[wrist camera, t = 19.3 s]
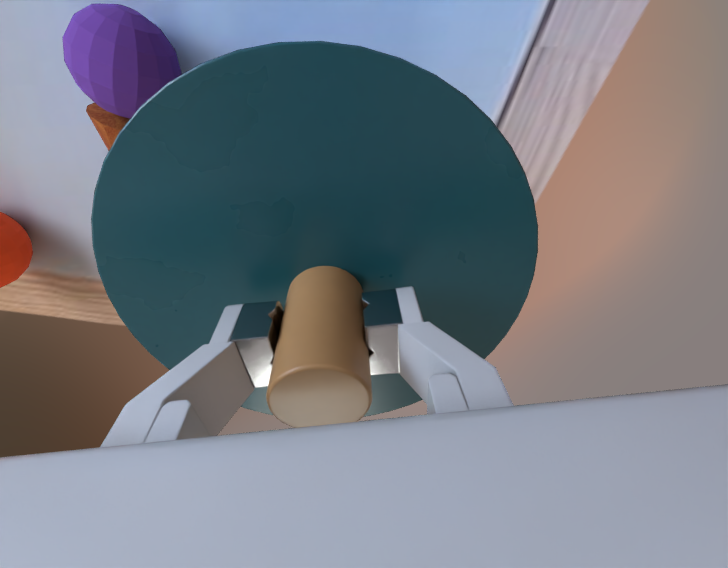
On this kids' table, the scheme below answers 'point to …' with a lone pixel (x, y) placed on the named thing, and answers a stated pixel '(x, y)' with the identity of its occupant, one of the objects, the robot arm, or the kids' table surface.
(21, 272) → the clementine
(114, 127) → the kendama
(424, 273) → the lid
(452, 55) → the kids' table surface
